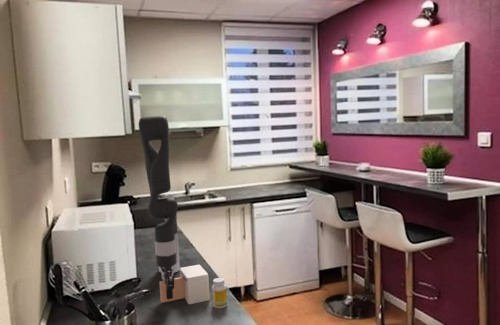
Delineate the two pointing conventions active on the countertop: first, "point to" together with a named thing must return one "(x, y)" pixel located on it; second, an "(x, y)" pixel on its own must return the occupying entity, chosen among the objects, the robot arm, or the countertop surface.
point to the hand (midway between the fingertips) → (168, 296)
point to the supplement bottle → (219, 293)
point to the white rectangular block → (195, 284)
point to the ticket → (177, 291)
